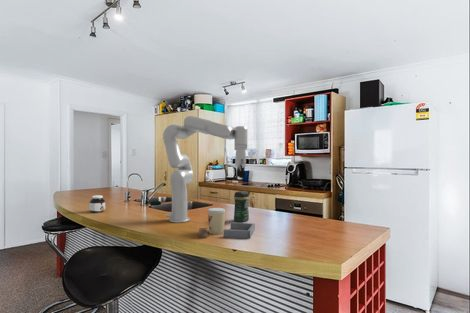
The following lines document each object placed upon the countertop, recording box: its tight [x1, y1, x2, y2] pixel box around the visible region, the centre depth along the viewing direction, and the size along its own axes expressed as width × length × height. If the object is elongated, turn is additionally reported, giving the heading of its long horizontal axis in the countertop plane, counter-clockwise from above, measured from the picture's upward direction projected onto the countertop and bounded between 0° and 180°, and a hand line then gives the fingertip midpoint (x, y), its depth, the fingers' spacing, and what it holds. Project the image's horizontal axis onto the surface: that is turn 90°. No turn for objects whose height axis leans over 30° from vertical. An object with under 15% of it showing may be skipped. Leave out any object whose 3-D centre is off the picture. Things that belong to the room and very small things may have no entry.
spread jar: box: [88, 194, 106, 214], centre depth 202 cm, size 12×11×12 cm
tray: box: [223, 222, 256, 239], centre depth 142 cm, size 13×16×4 cm
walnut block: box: [198, 227, 208, 239], centre depth 136 cm, size 4×4×4 cm
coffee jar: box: [233, 190, 250, 223], centre depth 172 cm, size 10×8×19 cm
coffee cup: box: [207, 207, 226, 235], centre depth 145 cm, size 9×9×12 cm
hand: (240, 177), depth 159 cm, fingers open, 9 cm apart
